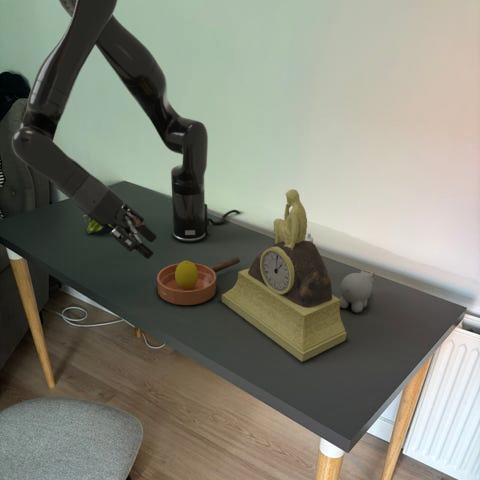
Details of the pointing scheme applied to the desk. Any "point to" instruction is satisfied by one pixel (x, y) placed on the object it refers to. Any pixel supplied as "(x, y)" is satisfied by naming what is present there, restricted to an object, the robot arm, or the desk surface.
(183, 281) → the lemon
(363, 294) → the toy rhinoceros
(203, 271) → the pan
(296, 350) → the decorative clock
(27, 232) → the desk surface
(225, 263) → the pan handle
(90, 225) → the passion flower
